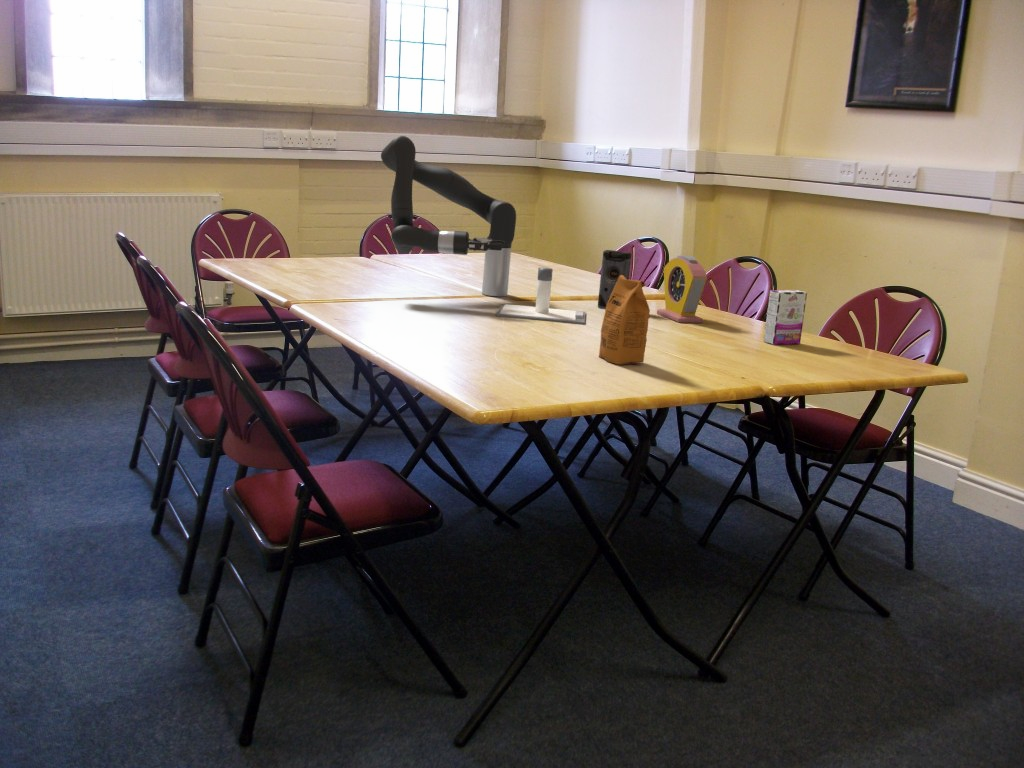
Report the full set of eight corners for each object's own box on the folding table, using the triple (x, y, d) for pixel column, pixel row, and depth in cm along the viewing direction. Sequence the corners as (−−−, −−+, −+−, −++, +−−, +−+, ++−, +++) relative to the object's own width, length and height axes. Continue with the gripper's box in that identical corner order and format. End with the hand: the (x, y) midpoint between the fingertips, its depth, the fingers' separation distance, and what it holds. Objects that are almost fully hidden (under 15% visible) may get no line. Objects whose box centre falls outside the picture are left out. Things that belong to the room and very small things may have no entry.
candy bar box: (789, 341, 308) (796, 289, 304) (800, 344, 303) (808, 292, 299) (761, 341, 302) (769, 289, 299) (772, 345, 298) (780, 291, 294)
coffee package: (626, 355, 264) (635, 274, 259) (648, 366, 253) (658, 281, 248) (592, 355, 260) (601, 273, 255) (613, 366, 249) (623, 280, 244)
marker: (535, 310, 320) (538, 267, 317) (549, 311, 320) (552, 268, 316) (534, 312, 316) (538, 268, 312) (548, 313, 316) (552, 270, 312)
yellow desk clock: (652, 312, 342) (659, 250, 337) (676, 313, 345) (683, 252, 340) (682, 324, 322) (690, 259, 317) (707, 325, 325) (715, 260, 320)
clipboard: (502, 305, 330) (502, 300, 329) (585, 313, 328) (585, 308, 328) (495, 315, 308) (496, 310, 308) (584, 324, 307) (585, 319, 306)
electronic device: (596, 307, 342) (602, 250, 337) (601, 305, 347) (607, 249, 343) (621, 311, 339) (628, 253, 334) (626, 309, 344) (632, 252, 339)
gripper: (451, 232, 310) (501, 236, 309) (456, 228, 324) (505, 232, 323) (450, 256, 312) (500, 259, 311) (455, 251, 326) (504, 254, 325)
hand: (503, 245), depth 317 cm, fingers open, 8 cm apart
